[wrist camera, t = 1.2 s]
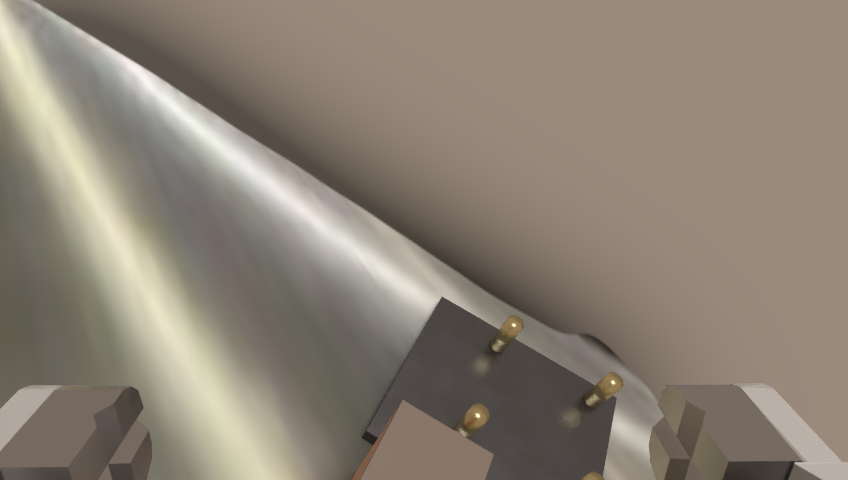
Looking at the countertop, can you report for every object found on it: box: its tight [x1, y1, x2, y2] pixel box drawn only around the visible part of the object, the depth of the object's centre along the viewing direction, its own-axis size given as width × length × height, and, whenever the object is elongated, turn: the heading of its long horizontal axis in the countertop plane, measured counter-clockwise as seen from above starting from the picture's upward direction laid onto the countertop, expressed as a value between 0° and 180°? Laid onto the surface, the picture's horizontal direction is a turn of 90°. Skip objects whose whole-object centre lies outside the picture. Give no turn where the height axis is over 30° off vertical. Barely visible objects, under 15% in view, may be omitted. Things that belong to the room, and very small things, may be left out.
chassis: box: [362, 297, 623, 480], centre depth 41 cm, size 17×14×5 cm
